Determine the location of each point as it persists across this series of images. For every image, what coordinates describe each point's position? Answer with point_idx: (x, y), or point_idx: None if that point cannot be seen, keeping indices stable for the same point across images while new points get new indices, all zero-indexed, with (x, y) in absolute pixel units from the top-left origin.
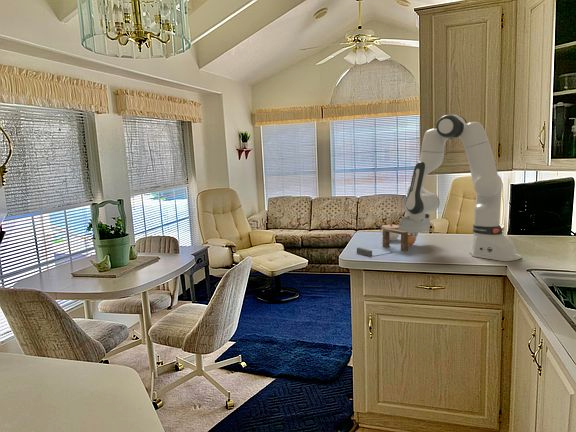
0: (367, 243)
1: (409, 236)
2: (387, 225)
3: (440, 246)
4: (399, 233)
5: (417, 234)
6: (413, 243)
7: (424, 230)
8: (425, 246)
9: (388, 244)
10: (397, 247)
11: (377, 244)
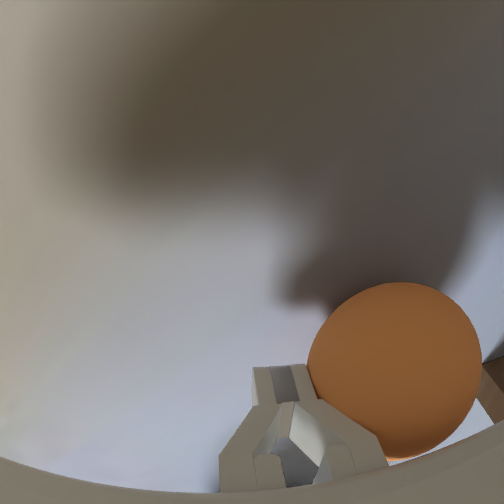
0: None
1: (476, 382)
2: None
3: (42, 20)
4: None
5: (233, 453)
6: (381, 285)
7: (24, 482)
8: (232, 137)
9: (496, 373)
10: (495, 304)
11: None
